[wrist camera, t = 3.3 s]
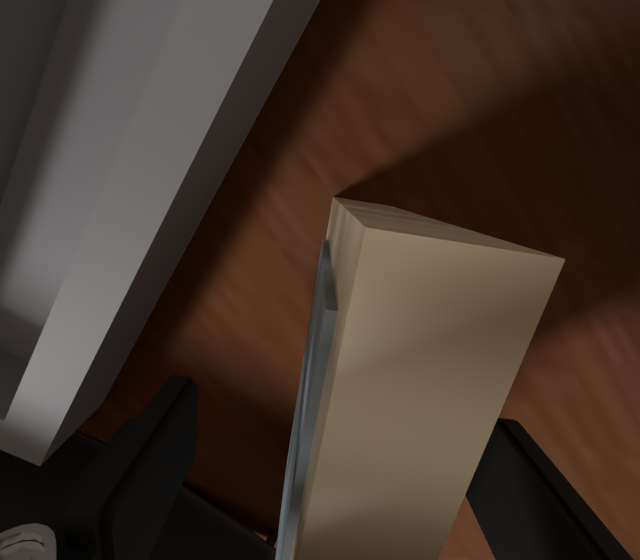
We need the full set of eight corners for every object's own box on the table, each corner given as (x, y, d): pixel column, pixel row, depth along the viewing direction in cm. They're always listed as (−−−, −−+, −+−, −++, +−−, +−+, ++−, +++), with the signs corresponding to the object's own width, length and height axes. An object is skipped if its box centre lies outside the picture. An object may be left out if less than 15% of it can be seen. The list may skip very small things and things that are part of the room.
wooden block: (332, 462, 16) (347, 771, 8) (286, 457, 16) (248, 764, 8) (390, 206, 12) (565, 258, 3) (328, 195, 12) (348, 224, 3)
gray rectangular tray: (102, 403, 15) (37, 468, 11) (-64, 324, 14) (-194, 370, 10) (340, -38, 10) (352, -163, 6) (105, -244, 8) (-50, -553, 5)
